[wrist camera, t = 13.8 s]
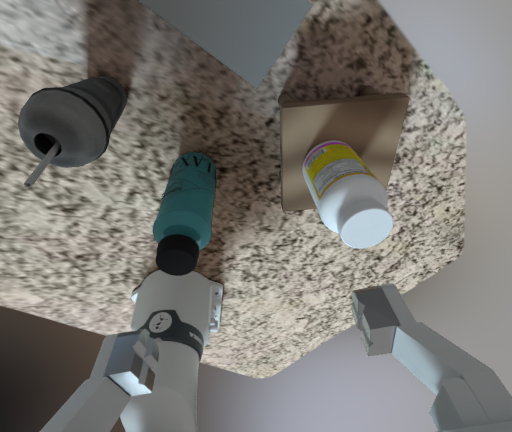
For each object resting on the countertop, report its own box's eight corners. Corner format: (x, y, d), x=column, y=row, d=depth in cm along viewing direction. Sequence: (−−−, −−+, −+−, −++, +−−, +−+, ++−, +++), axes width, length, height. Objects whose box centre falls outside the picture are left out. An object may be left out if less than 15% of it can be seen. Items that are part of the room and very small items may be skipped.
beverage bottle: (226, 161, 44) (224, 257, 28) (202, 192, 46) (188, 294, 31) (188, 136, 41) (162, 227, 25) (165, 170, 44) (128, 270, 28)
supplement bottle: (350, 184, 38) (394, 254, 28) (300, 188, 38) (326, 260, 28) (358, 135, 34) (414, 195, 24) (302, 140, 34) (334, 202, 24)
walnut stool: (362, 173, 47) (383, 202, 40) (275, 181, 46) (282, 211, 40) (379, 80, 38) (409, 97, 32) (273, 89, 38) (282, 108, 31)
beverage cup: (121, 56, 34) (28, 109, 18) (147, 116, 39) (91, 201, 23) (64, 71, 35) (-75, 135, 19) (96, 128, 39) (6, 220, 23)
